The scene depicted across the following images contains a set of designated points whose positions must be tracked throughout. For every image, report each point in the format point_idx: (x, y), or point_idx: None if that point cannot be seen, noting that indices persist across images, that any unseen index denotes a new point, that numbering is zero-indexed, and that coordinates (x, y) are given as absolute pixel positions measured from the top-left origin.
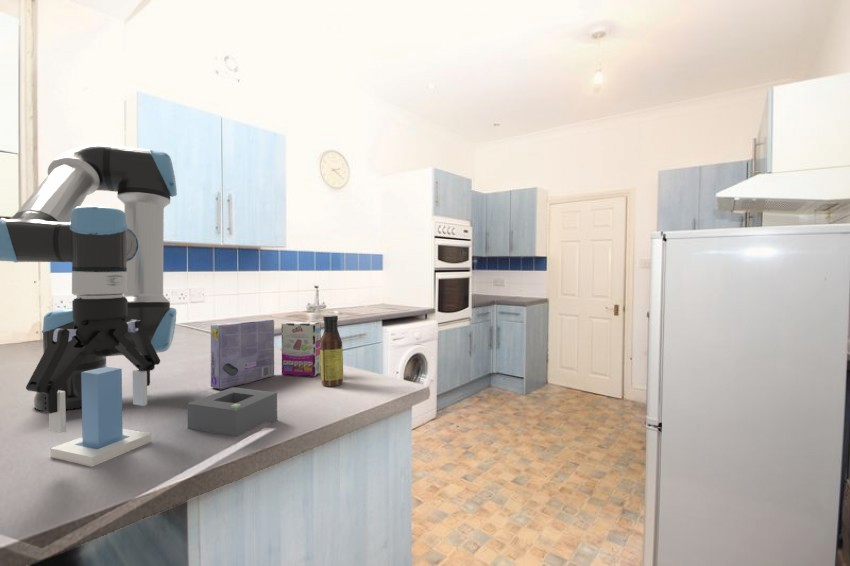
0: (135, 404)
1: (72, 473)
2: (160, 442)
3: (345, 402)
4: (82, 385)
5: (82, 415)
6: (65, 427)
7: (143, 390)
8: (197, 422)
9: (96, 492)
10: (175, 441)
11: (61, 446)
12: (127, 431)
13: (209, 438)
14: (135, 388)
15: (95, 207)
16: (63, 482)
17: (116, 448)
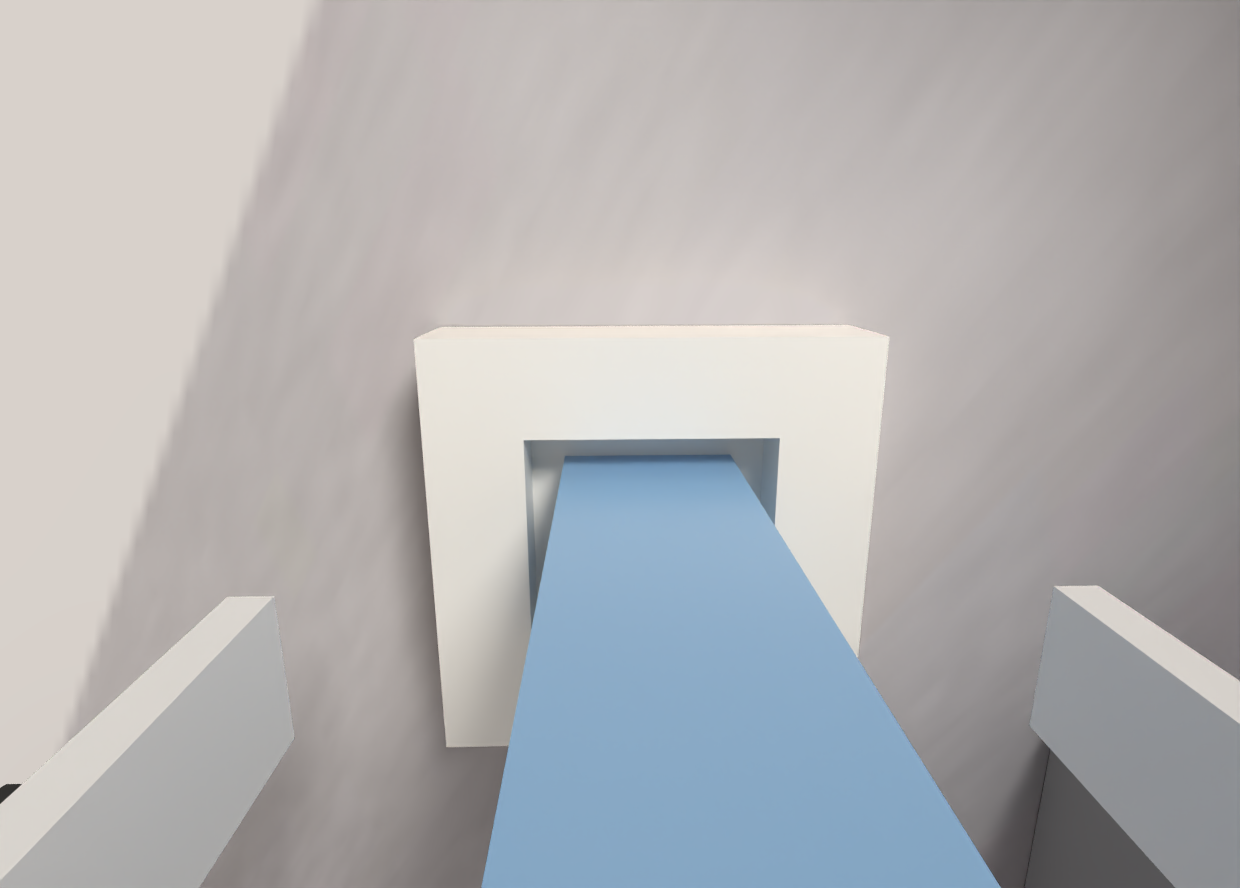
0: (1050, 619)
1: (416, 598)
2: (891, 673)
3: None
4: (491, 882)
5: (543, 578)
6: (273, 766)
7: (1160, 865)
8: (1100, 848)
9: (354, 879)
10: (926, 740)
11: (465, 386)
12: (835, 558)
13: (1009, 873)
14: (1197, 754)
15: None
16: (337, 657)
17: None
